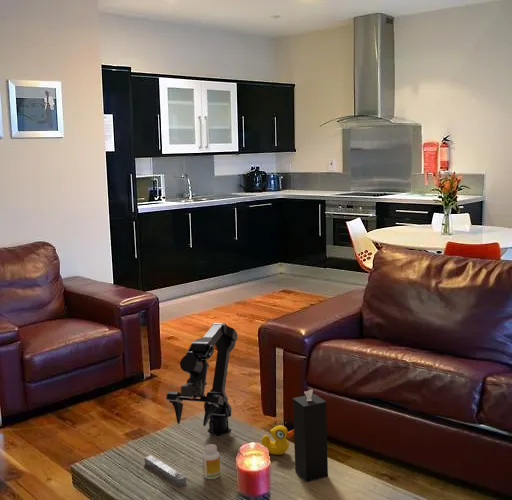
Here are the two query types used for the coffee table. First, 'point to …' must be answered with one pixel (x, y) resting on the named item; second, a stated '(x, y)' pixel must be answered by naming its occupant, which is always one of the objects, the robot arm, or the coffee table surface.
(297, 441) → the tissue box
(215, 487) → the coffee table surface
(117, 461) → the coffee table surface
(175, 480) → the price rail
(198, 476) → the coffee table surface
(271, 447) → the duckling
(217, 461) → the supplement bottle
